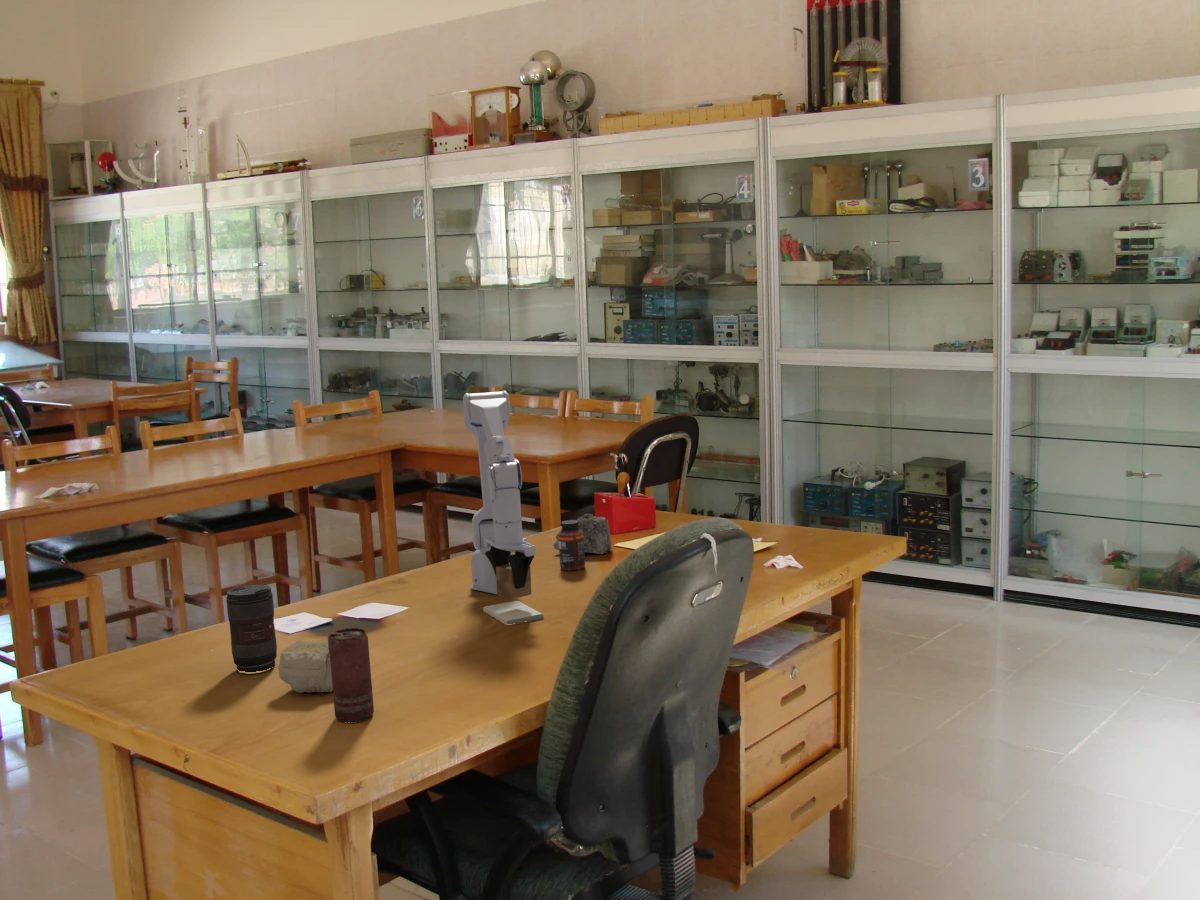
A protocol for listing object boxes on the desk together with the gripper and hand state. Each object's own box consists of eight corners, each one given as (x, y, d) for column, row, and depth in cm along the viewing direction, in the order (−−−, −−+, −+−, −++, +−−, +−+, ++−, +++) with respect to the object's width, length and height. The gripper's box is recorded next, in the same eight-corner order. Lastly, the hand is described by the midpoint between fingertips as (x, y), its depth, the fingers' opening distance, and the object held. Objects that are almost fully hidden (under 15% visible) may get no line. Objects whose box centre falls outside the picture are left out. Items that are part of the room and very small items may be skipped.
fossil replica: (355, 694, 196) (347, 681, 205) (354, 646, 195) (346, 635, 205) (281, 701, 192) (277, 687, 201) (281, 651, 191) (276, 640, 201)
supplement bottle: (586, 564, 275) (584, 518, 273) (583, 571, 269) (581, 524, 267) (561, 565, 275) (559, 519, 274) (558, 571, 270) (555, 524, 268)
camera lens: (288, 662, 214) (280, 584, 211) (262, 677, 206) (254, 596, 204) (251, 659, 216) (243, 582, 214) (224, 674, 209) (216, 594, 207)
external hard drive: (506, 628, 230) (483, 613, 241) (544, 621, 234) (519, 607, 244) (506, 620, 230) (482, 606, 240) (543, 613, 233) (518, 599, 244)
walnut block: (497, 595, 237) (495, 566, 236) (516, 590, 241) (514, 562, 240) (512, 599, 234) (511, 570, 233) (531, 594, 237) (530, 565, 236)
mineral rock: (551, 554, 287) (549, 515, 285) (577, 545, 295) (575, 507, 294) (593, 560, 279) (591, 519, 278) (618, 550, 288) (616, 511, 286)
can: (336, 711, 188) (329, 628, 186) (375, 708, 188) (369, 625, 186) (331, 725, 182) (323, 640, 180) (371, 722, 182) (364, 637, 180)
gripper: (545, 521, 232) (549, 586, 234) (500, 513, 242) (504, 575, 244) (518, 527, 227) (522, 594, 229) (473, 519, 238) (478, 582, 240)
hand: (511, 585), depth 236 cm, fingers closed on walnut block, 5 cm apart
